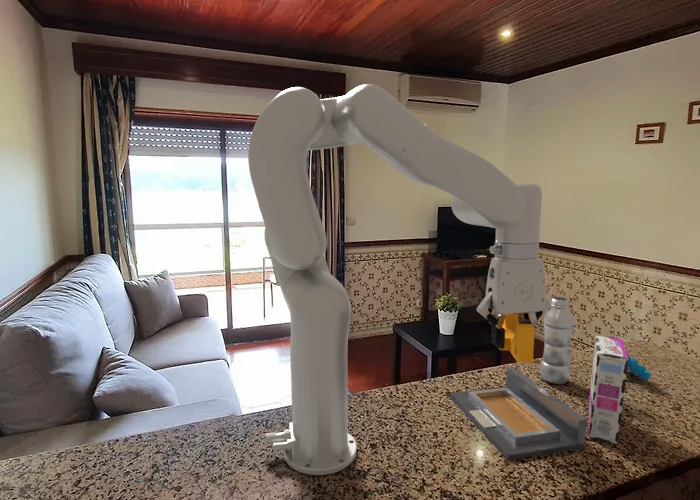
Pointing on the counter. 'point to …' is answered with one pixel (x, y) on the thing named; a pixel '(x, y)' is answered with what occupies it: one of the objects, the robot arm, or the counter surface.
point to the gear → (637, 368)
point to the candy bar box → (607, 389)
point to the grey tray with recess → (523, 418)
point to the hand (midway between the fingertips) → (511, 343)
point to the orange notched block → (519, 339)
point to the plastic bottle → (557, 342)
